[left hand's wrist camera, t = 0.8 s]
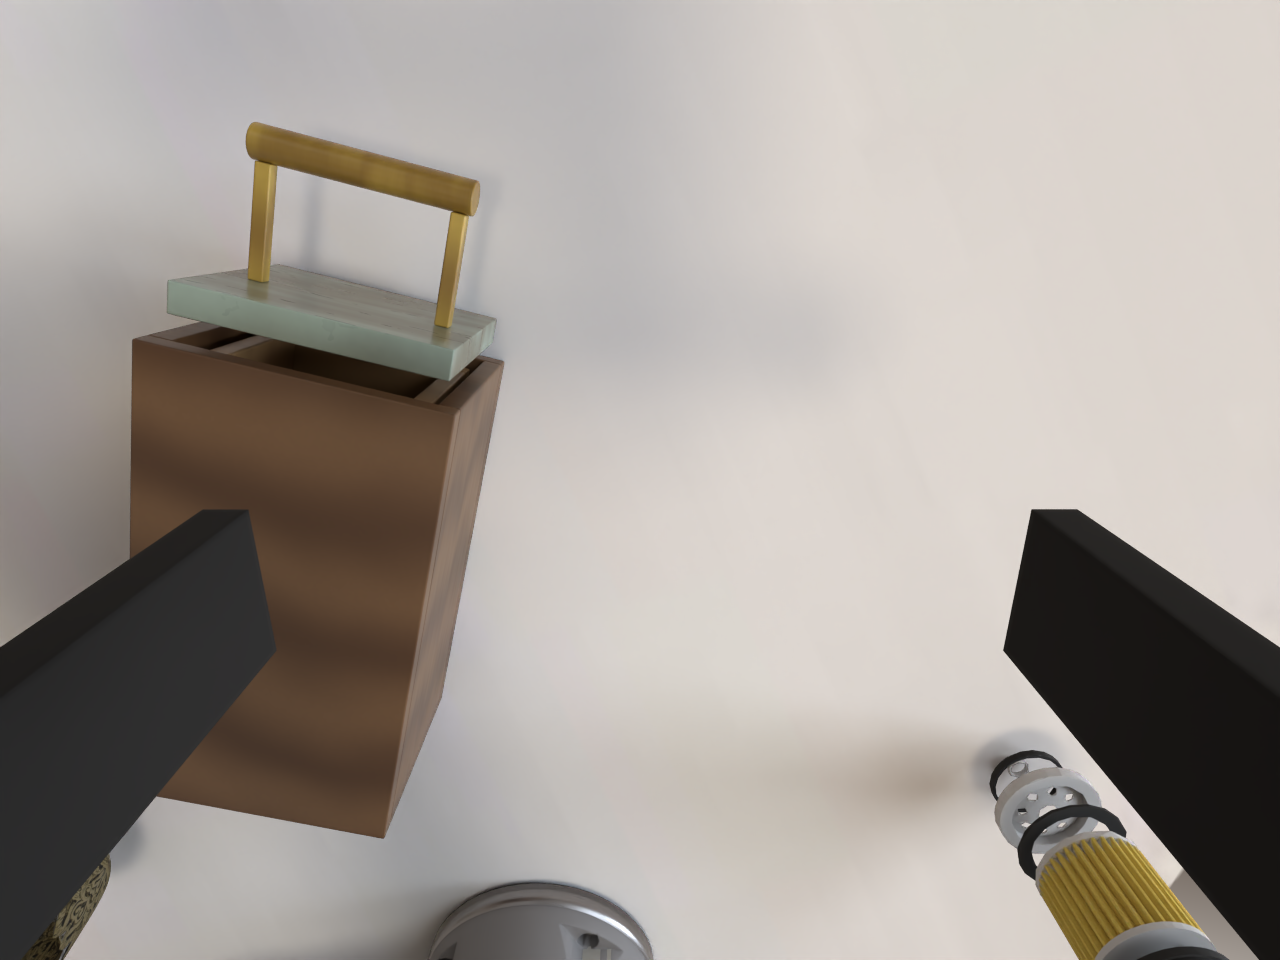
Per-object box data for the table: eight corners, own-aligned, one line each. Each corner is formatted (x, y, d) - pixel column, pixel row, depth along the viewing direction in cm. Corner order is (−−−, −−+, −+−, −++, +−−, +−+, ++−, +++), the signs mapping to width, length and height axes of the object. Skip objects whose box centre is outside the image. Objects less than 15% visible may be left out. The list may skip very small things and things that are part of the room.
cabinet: (271, 303, 35) (131, 338, 25) (504, 360, 36) (455, 415, 26) (244, 657, 42) (126, 791, 32) (441, 698, 43) (384, 839, 33)
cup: (143, 781, 45) (42, 896, 37) (161, 871, 47) (71, 996, 40) (18, 774, 44) (-108, 889, 37) (44, 865, 47) (-70, 990, 39)
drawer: (288, 129, 31) (171, 101, 24) (520, 190, 32) (481, 183, 24) (250, 620, 40) (155, 720, 32) (435, 659, 41) (386, 766, 33)
